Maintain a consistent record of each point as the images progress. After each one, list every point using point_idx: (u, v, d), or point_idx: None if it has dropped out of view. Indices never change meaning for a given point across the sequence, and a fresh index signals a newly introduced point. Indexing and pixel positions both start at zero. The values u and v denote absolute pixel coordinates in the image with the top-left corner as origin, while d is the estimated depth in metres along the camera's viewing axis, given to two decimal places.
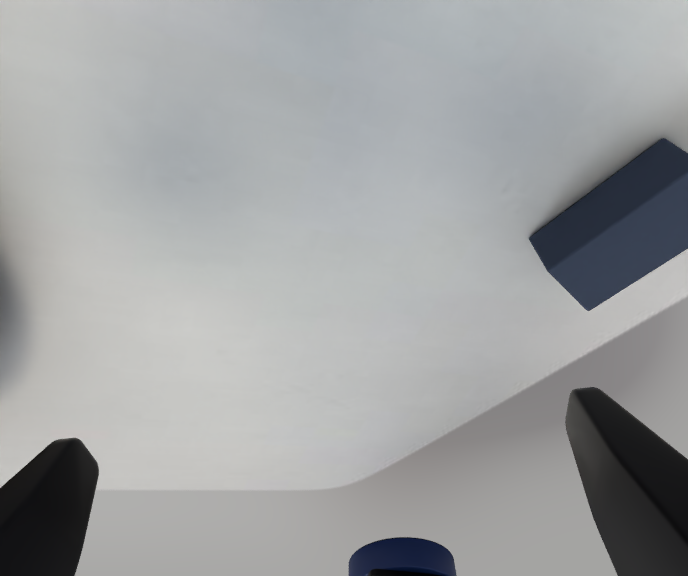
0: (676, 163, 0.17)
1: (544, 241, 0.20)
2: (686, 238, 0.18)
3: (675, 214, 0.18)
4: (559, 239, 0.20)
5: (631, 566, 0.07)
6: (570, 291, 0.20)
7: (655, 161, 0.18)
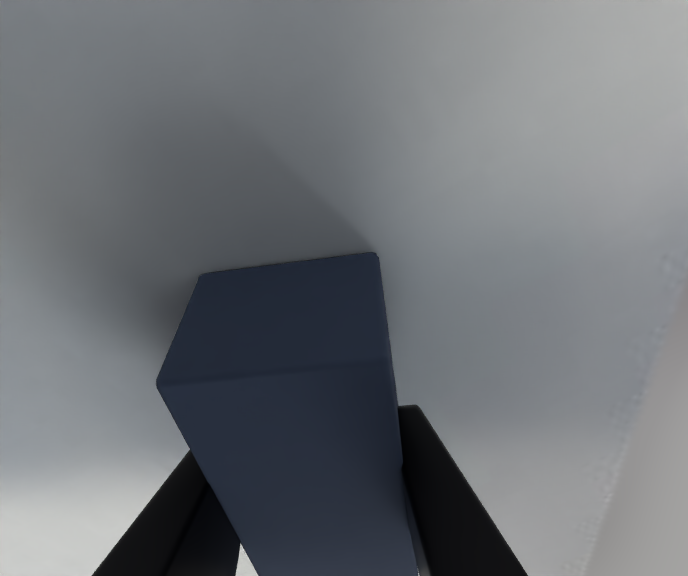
0: None
1: None
2: (363, 448, 0.07)
3: (274, 449, 0.07)
4: None
5: None
6: None
7: None
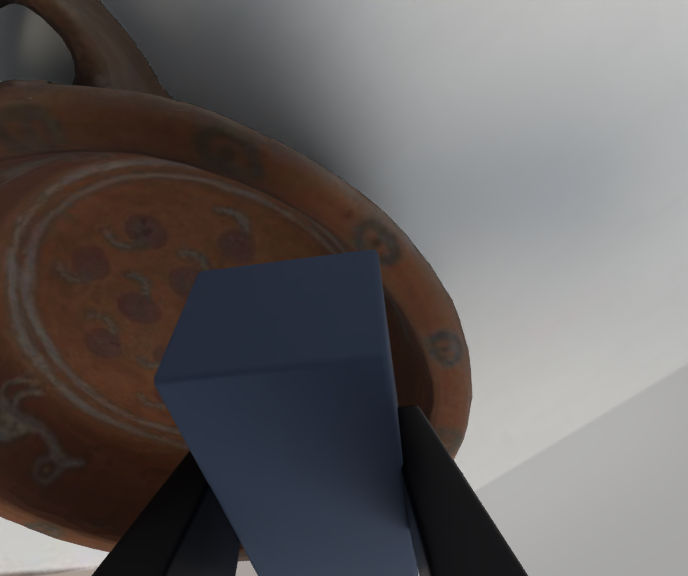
0: None
1: None
2: (363, 446, 0.07)
3: (273, 447, 0.07)
4: None
5: None
6: None
7: None
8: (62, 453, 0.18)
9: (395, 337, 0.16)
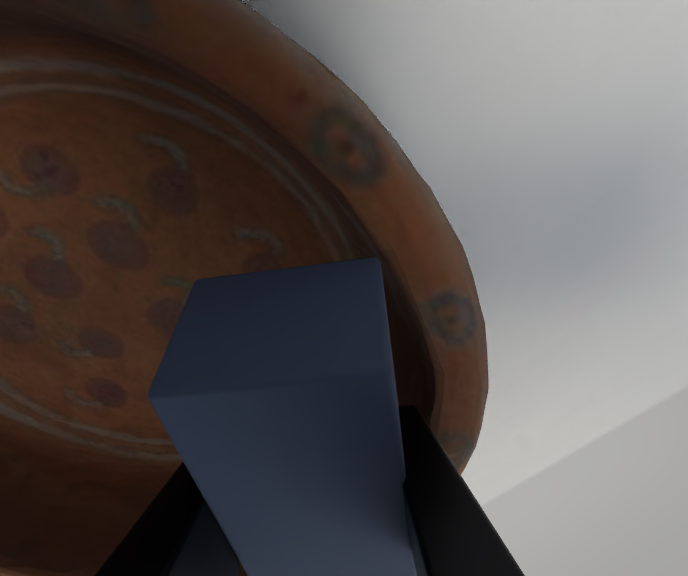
0: None
1: None
2: (365, 462, 0.07)
3: (272, 463, 0.07)
4: None
5: None
6: None
7: None
8: None
9: None
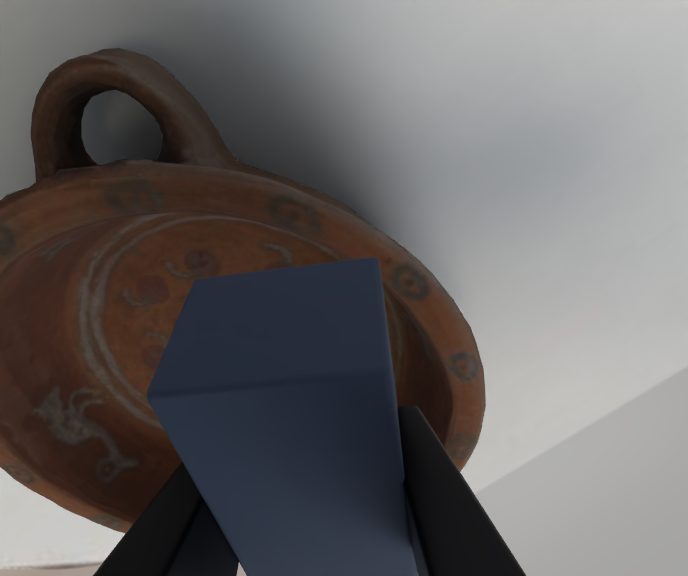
0: None
1: None
2: (363, 461, 0.07)
3: (270, 462, 0.07)
4: None
5: None
6: None
7: None
8: (119, 454, 0.21)
9: (417, 353, 0.18)
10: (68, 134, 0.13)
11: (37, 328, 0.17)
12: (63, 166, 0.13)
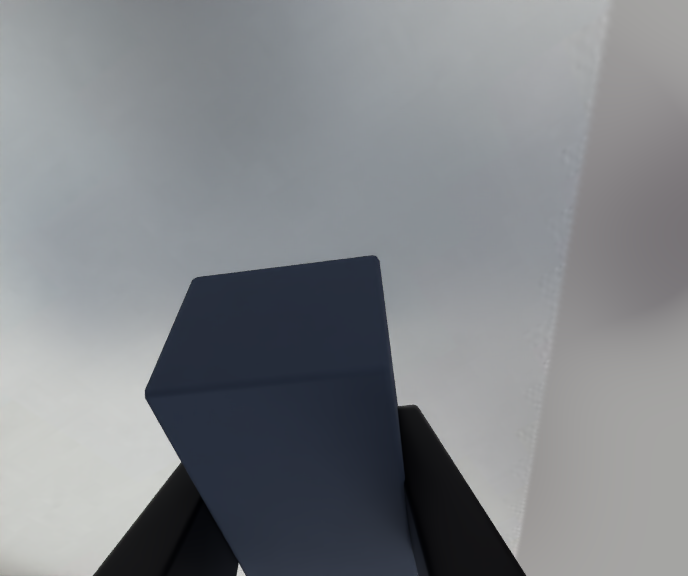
0: None
1: None
2: (363, 461, 0.07)
3: (270, 461, 0.07)
4: None
5: None
6: None
7: None
8: None
9: None
10: None
11: None
12: None
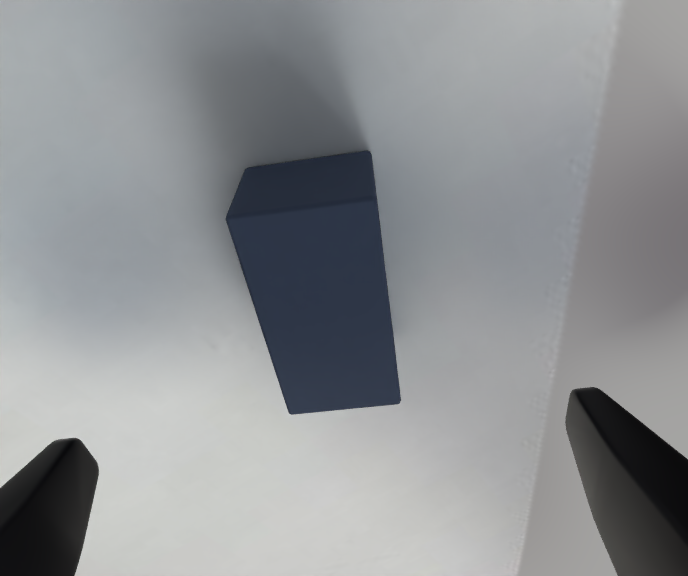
0: None
1: None
2: (360, 272, 0.10)
3: (300, 273, 0.10)
4: None
5: (631, 566, 0.07)
6: (344, 408, 0.13)
7: None
8: None
9: None
10: None
11: None
12: None
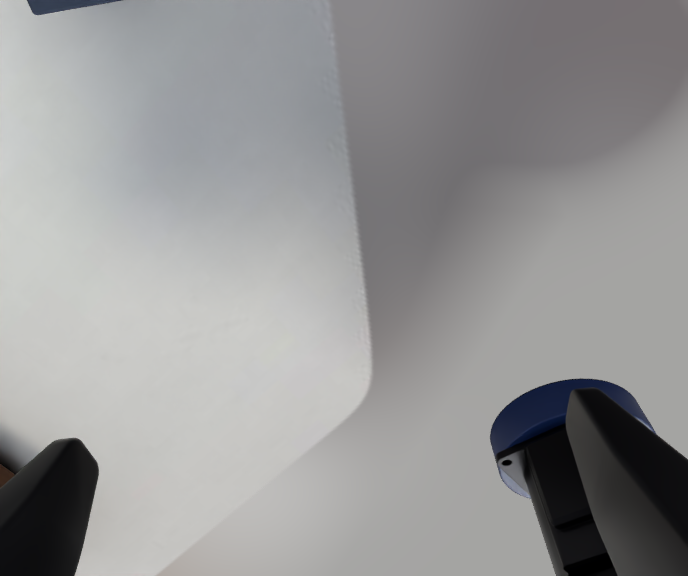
0: None
1: None
2: None
3: None
4: None
5: (631, 566, 0.07)
6: (83, 3, 0.13)
7: None
8: None
9: None
10: None
11: None
12: None
